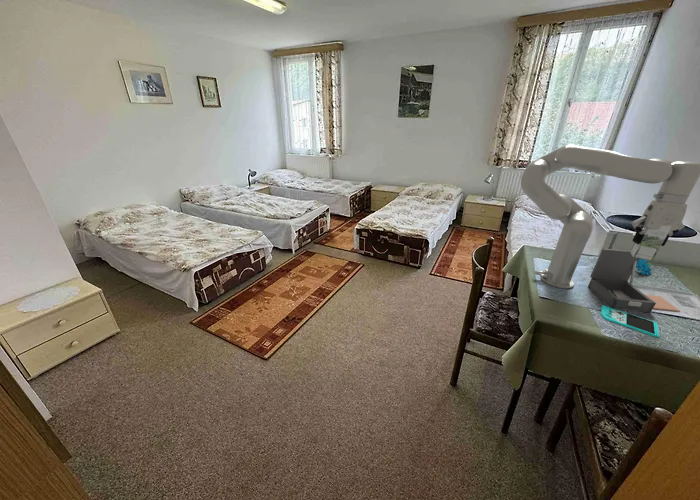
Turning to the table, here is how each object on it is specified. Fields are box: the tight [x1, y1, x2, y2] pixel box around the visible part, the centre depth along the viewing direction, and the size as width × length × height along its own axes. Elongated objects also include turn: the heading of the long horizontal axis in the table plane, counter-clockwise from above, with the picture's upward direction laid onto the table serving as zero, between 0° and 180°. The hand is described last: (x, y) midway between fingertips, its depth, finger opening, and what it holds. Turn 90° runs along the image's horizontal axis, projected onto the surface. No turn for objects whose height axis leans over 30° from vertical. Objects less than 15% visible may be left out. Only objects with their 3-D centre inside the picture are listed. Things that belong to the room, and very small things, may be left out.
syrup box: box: [629, 225, 671, 262], centre depth 107 cm, size 6×6×14 cm
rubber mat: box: [645, 294, 681, 313], centre depth 117 cm, size 10×10×1 cm
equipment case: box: [587, 248, 656, 314], centre depth 116 cm, size 14×18×18 cm
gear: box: [636, 259, 653, 276], centre depth 141 cm, size 11×6×10 cm
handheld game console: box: [600, 304, 660, 339], centre depth 107 cm, size 10×16×1 cm, turn 48°
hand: (647, 243), depth 108 cm, fingers closed on syrup box, 7 cm apart
